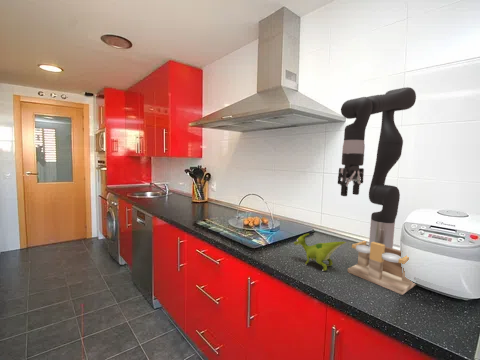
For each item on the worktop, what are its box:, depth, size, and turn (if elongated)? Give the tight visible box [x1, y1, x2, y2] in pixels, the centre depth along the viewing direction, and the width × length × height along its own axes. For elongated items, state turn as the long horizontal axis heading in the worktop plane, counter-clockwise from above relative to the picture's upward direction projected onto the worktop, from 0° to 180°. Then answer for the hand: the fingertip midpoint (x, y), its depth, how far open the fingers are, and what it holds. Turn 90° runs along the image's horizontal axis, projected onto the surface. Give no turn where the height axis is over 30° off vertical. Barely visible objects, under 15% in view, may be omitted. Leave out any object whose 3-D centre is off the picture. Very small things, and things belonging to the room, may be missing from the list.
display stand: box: [347, 247, 417, 295], centre depth 90 cm, size 12×19×10 cm, turn 37°
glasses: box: [351, 240, 409, 264], centre depth 89 cm, size 11×18×6 cm, turn 37°
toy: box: [293, 233, 347, 272], centre depth 99 cm, size 8×21×15 cm, turn 51°
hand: (349, 195), depth 93 cm, fingers open, 8 cm apart
